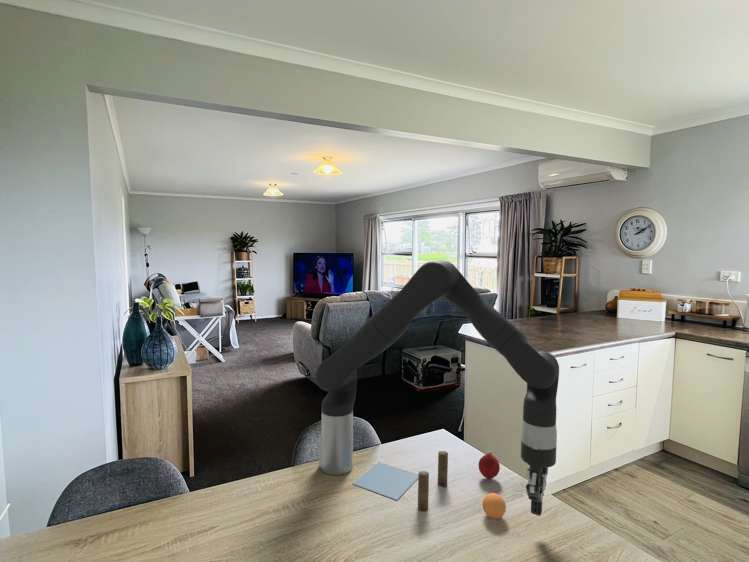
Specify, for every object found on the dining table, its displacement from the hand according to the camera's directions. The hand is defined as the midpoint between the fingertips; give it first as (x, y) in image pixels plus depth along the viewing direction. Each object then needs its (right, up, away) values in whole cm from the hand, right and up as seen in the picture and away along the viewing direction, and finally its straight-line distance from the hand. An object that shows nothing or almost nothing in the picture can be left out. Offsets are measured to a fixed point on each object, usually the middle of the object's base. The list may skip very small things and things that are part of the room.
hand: (536, 513), depth 97 cm
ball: (-8, -1, +5) cm, 10 cm away
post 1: (-25, -3, +8) cm, 27 cm away
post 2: (-19, -3, +19) cm, 27 cm away
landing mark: (-34, -2, +21) cm, 40 cm away
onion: (-5, -3, +22) cm, 23 cm away
